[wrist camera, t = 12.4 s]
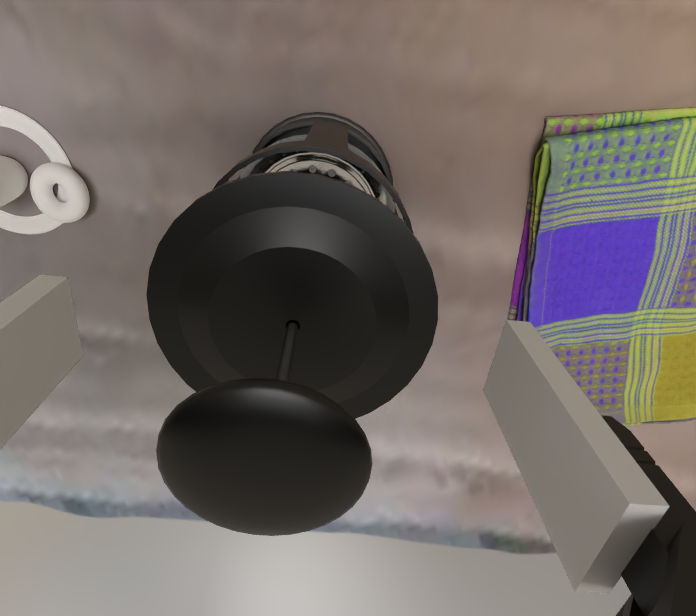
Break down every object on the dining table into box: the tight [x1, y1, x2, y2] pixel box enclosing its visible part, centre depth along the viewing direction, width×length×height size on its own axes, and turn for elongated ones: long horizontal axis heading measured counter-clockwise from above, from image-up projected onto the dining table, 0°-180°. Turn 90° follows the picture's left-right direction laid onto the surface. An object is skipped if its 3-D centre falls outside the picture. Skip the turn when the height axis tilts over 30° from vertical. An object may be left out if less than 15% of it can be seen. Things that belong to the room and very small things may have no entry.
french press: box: [147, 112, 438, 536], centre depth 19 cm, size 12×9×23 cm
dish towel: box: [508, 107, 696, 426], centre depth 31 cm, size 18×24×3 cm
